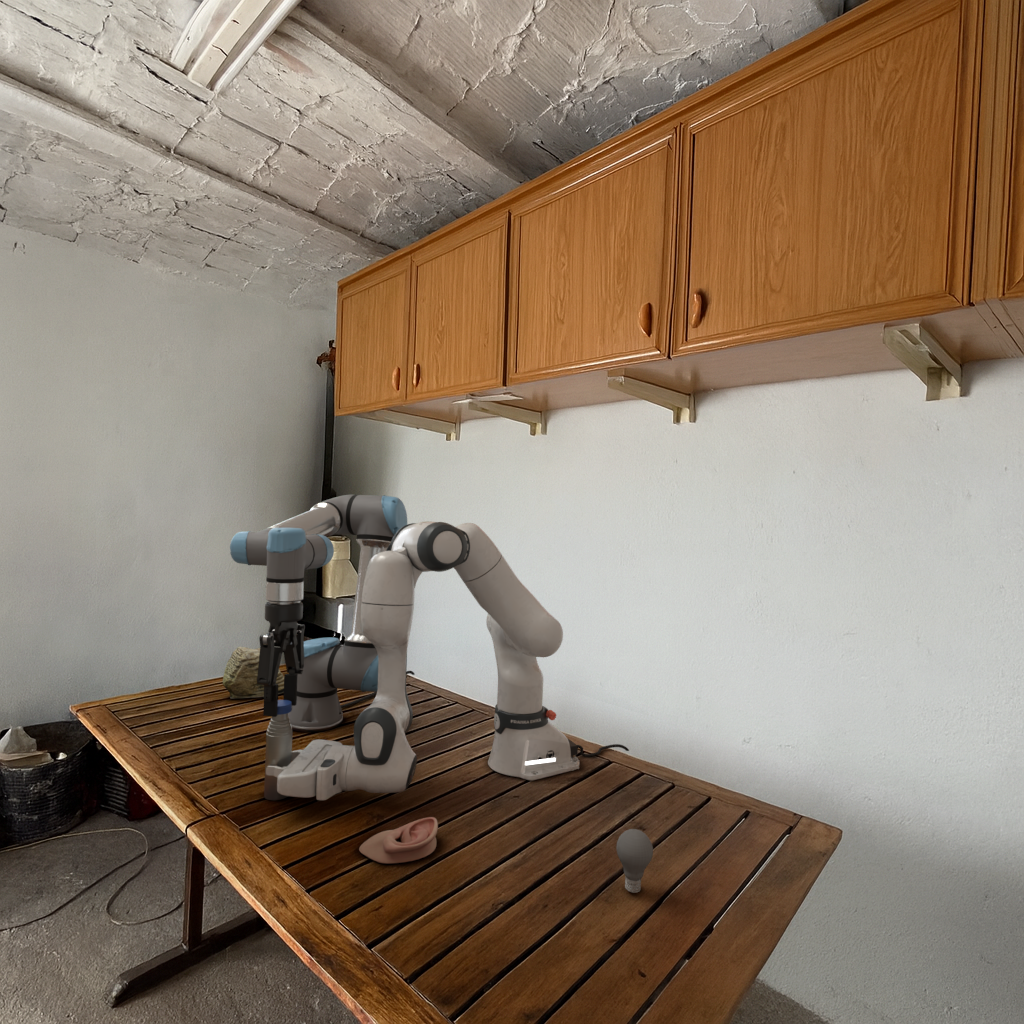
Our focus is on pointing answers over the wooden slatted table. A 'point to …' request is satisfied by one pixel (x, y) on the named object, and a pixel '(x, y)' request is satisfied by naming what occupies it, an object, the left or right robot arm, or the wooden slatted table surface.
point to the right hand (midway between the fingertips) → (274, 762)
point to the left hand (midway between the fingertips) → (280, 709)
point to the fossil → (246, 674)
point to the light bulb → (634, 857)
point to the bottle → (277, 752)
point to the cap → (284, 707)
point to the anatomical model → (403, 842)
